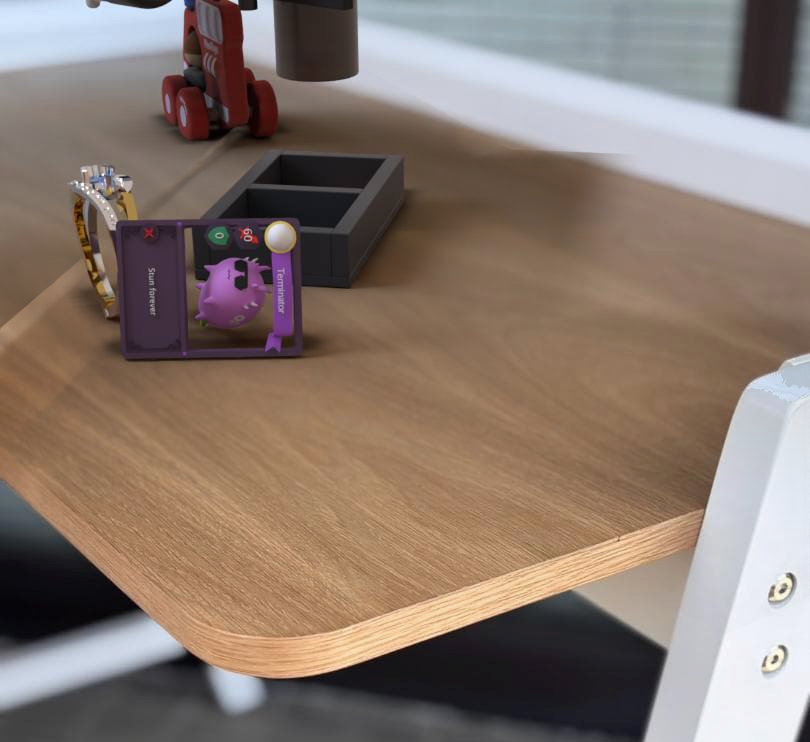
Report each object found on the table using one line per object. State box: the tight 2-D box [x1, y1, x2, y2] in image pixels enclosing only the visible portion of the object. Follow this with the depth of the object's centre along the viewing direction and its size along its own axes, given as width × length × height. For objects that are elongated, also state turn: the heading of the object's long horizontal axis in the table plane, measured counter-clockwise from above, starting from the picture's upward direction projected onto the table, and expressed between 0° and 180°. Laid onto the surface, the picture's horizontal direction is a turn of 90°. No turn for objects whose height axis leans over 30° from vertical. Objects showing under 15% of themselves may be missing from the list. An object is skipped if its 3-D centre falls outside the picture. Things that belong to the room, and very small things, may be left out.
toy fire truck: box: [161, 0, 279, 141], centre depth 113 cm, size 7×12×10 cm, turn 21°
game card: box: [116, 218, 304, 359], centre depth 76 cm, size 7×5×9 cm
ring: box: [66, 163, 139, 319], centre depth 78 cm, size 7×3×8 cm, turn 24°
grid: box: [191, 149, 405, 289], centre depth 91 cm, size 9×17×3 cm, turn 170°
